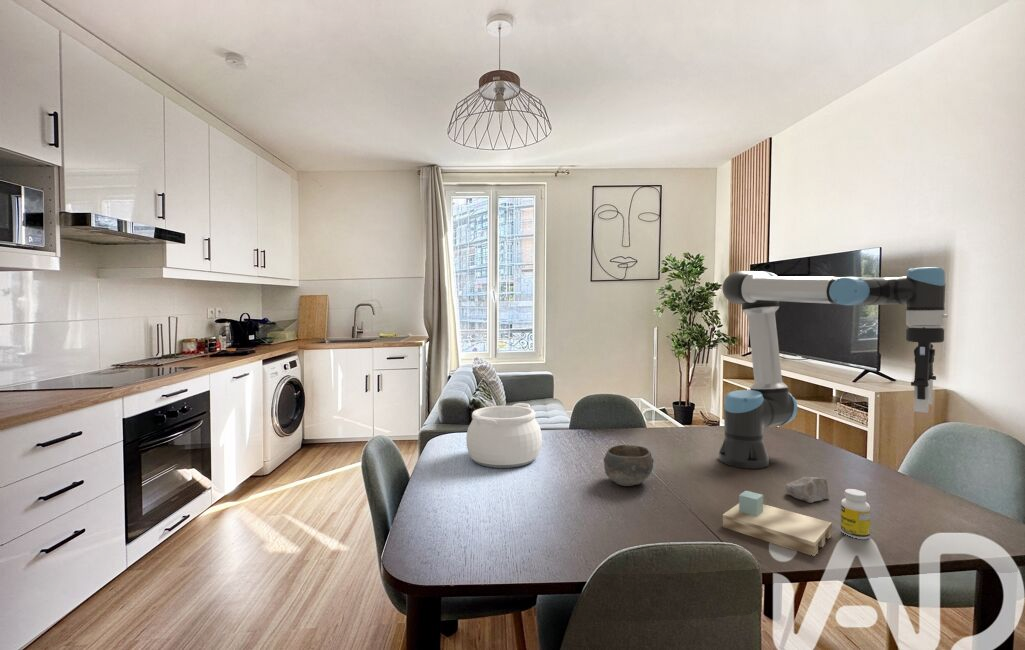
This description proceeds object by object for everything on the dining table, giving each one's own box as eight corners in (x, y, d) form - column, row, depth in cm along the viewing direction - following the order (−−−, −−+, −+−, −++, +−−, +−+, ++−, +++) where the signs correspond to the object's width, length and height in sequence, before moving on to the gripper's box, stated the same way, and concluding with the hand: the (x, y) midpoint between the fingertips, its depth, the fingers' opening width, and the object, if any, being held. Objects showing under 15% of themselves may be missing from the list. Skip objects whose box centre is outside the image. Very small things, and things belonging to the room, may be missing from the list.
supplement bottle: (834, 529, 111) (835, 488, 110) (856, 528, 111) (857, 487, 111) (853, 540, 105) (853, 497, 105) (876, 539, 106) (876, 496, 105)
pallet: (722, 527, 113) (722, 514, 113) (744, 510, 121) (744, 499, 121) (814, 556, 99) (814, 542, 99) (831, 535, 108) (831, 522, 108)
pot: (515, 478, 147) (514, 423, 147) (448, 464, 161) (447, 414, 161) (556, 453, 172) (556, 406, 172) (496, 443, 186) (495, 399, 185)
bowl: (656, 478, 145) (656, 445, 145) (648, 496, 132) (648, 460, 131) (611, 472, 151) (611, 441, 151) (598, 489, 137) (598, 454, 137)
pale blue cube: (739, 511, 114) (739, 494, 114) (745, 506, 117) (745, 490, 117) (756, 516, 111) (756, 499, 111) (763, 511, 114) (763, 494, 114)
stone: (812, 491, 134) (812, 470, 134) (835, 502, 126) (836, 480, 126) (780, 493, 133) (780, 473, 132) (802, 505, 125) (803, 483, 124)
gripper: (941, 329, 113) (939, 418, 113) (946, 325, 130) (945, 402, 131) (900, 328, 118) (899, 413, 119) (911, 325, 136) (910, 398, 136)
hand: (923, 407), depth 125 cm, fingers open, 13 cm apart
